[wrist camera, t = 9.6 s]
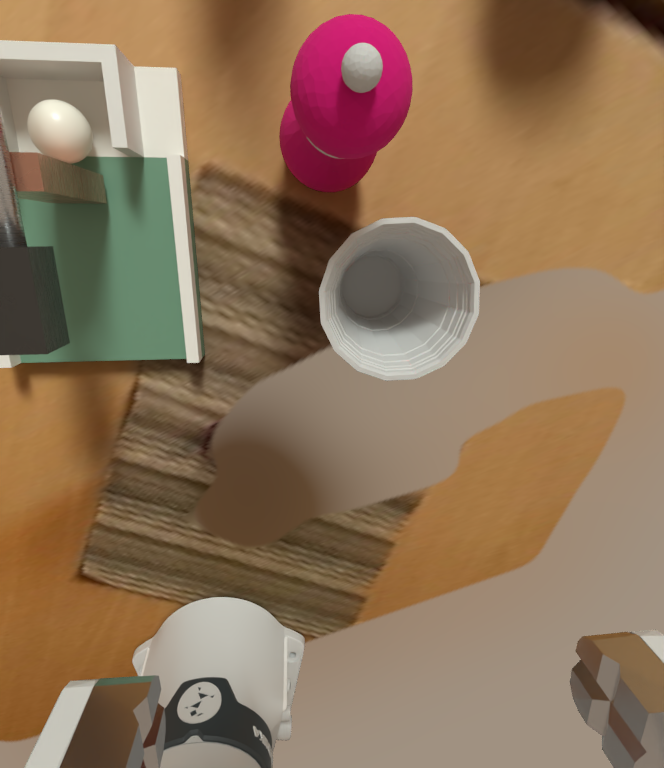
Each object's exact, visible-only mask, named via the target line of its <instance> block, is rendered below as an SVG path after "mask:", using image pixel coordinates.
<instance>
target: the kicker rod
mask: <svg viewBox="0 0 664 768" xmlns="http://www.w3.org/2000/svg"><path fill="white" fill-rule="evenodd" d="M18 198H20V199H27V200H34V201H40V202H47V203H92V204H107V201H106V194H105V187H104V180H103V175H101V174H98V173H95V172H92V171H89V170H86V169H83V168H81V167H78V166H75V165H72V164H69V163H66V162H63V161H60V160H58V159H55V158H52V157H49V156H46V155H43V154H40V153H37V152H9V149H8V144H7V138H6V133H5V128H4V123H3V118H2V112H1V107H0V355H37V354H49V353H51V352H53V351H55V350H57V349H59V348H61V347H63V346H65V345H67V344H69V343H70V340H69V335H68V329H67V323H66V318H65V312H64V306H63V301H62V295H61V289H60V284H59V278H58V272H57V267H56V261H55V255H54V250H53V246H27V242H26V237H25V232H24V227H23V221H22V216H21V211H20V206H19V201H18Z"/></svg>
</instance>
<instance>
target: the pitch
mask: <svg viewBox="0 0 664 768" xmlns="http://www.w3.org/2000/svg"><path fill="white" fill-rule="evenodd" d="M51 99H54V100H60V101H64V102H66V103H68V104H70V105H72V106H74V107H75V108H76V109H78V110H79V111H80V112H81V113H82V114H83V115H84V117H85V118H86V119H87V121H88V123H89V125H90V127H91V130H92V135H93V144H92V148H91V151H90V153H89V154H88V155H87V156H86V157H85V158H84V159H83V160H81V161H79V162H77V163H73V164H72V165H75V166H78V167H81V168H83V169H86V170H89V171H92V172H95V173H98V174H101V175H103V180H104V187H105V194H106V201H107V204H92V203H47V202H40V201H34V200H27V199H20V198H18V201H19V206H20V211H21V216H22V221H23V227H24V232H25V237H26V242H27V246H53V250H54V255H55V261H56V267H57V272H58V278H59V284H60V289H61V295H62V301H63V306H64V312H65V318H66V323H67V329H68V335H69V340H70V343H69V344H67V345H65V346H63V347H61V348H59V349H57V350H55V351H53V352H51V353H49V354H37V355H0V368H12V367H14V366H16V365H18V364H20V363H37V362H77V361H117V360H156V359H187V363H199V362H200V361H201V359H202V358H203V356H204V355H205V350H204V338H203V327H202V315H201V304H200V292H199V281H198V269H197V258H196V246H195V234H194V223H193V211H192V200H191V188H190V177H189V165H188V154H187V142H186V131H185V119H184V107H183V96H182V84H181V75H180V73H179V71H178V70H177V68H162V67H134V66H133V65H132V64H131V62H130V61H129V60H128V59H127V58H126V57H125V56H124V54H123V53H122V52H121V51H120V50H119V49H118V48H117V46H116V45H110V44H83V43H57V42H30V41H4V40H0V107H1V112H2V118H3V123H4V128H5V133H6V138H7V144H8V149H9V152H37V153H40V154H42V153H41V152H40V151H39V150H38V149H37V148H36V146H35V145H34V143H33V142H32V140H31V138H30V135H29V132H28V126H27V121H28V116H29V113H30V111H31V110H32V108H33V107H34V106H35V105H36V104H38V103H39V102H41V101H44V100H51Z"/></svg>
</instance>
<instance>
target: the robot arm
mask: <svg viewBox="0 0 664 768" xmlns="http://www.w3.org/2000/svg"><path fill="white" fill-rule="evenodd" d="M304 646H305V639H304V637H303V636H302V635H301V634H299V633H297V632H295V631H293V630H291V629H288V628H286V627H284V626H282V625H281V624H280V623H279V622H278V621H277V620H276V619H275V618H274V617H273V616H272V615H271V614H270V613H269V612H268V611H266V610H265V609H263V608H262V607H260V606H258V605H256V604H254V603H251V602H249V601H246V600H242V599H237V598H230V597H215V598H207V599H202V600H199V601H195V602H192V603H190V604H188V605H186V606H184V607H182V608H180V609H179V610H177V611H176V612H174V613H173V614H172V615H171V616H170V617H168V618H167V620H166V621H165V622H164V623H163V624H162V626H161V627H160V629H159V630H158V632H157V633H156V635H155V636H154V637H153V638H151V639H149V640H148V641H146V642H145V643H143V644H142V645H140V646H139V647H138V648H137V649H136V650H135V652H134V655H133V660H132V662H133V665H134V667H135V670H136V672H137V674H138V676H136V677H119V678H103V679H92V680H78V681H70V682H69V683H68V684H67V686H66V687H65V688H64V689H63V690H62V692H61V694H60V696H59V698H58V700H57V702H56V704H55V706H54V708H53V710H52V712H51V714H50V716H49V718H48V720H47V722H46V724H45V726H44V728H43V730H42V732H41V734H40V737H39V739H38V741H37V743H36V745H35V747H34V749H33V751H32V753H31V755H30V757H29V759H28V761H27V763H26V765H25V767H24V768H272V766H273V756H272V755H273V750H274V746H275V743H276V740H277V739H278V740H289V739H290V737H291V726H292V717H291V715H290V711H291V706H292V702H293V697H294V693H295V688H296V684H297V679H298V675H299V670H300V665H301V661H302V656H303V653H304ZM291 652H293V653H291ZM576 653H577V654H578V655H579V657H580V658H581V660H580V661H579V662H578V663H577V664H576V665H575V666H574V667H573V668H572V672H571V679H570V685H571V690H572V696H573V699H574V702H575V704H576V706H577V709H578V711H579V713H580V714H581V716H582V718H583V719H584V721H585V723H586V724H587V725H588V726H589V727H591V728H592V729H593V730H595V731H596V732H598V733H599V734H600V735H602V750H603V751H604V753H605V755H606V756H607V758H608V759H609V761H610V763H611V764H612V766H613V767H614V768H664V635H663V634H662V633H660V632H658V631H657V630H647V631H636V632H621V633H611V634H603V635H592V636H583V637H582V638H581V639H580V640H579V641H578V643H577V648H576Z"/></svg>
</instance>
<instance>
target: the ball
mask: <svg viewBox="0 0 664 768" xmlns="http://www.w3.org/2000/svg"><path fill="white" fill-rule="evenodd" d="M27 126H28V132H29V135H30V138H31V140H32V142H33V143H34V145H35V146H36V148H37V149H38V150H39V151H40V152H41V153H42V154H43V155H46V156H49V157H52V158H55V159H58V160H60V161H63V162H66V163H69V164H73V163H77V162H79V161H81V160H83V159H84V158H85V157H86V156H87V155H88V154H89V153H90V151H91V148H92V144H93V135H92V130H91V127H90V125H89V123H88V121H87V119H86V118H85V117H84V115H83V114H82V113H81V112H80V111H79V110H78V109H76V108H75V107H74V106H72V105H70V104H68V103H66V102H64V101H60V100H54V99H51V100H44V101H41V102H39V103H38V104H36V105H35V106H34V107H33V108H32V110H31V111H30V113H29V116H28V121H27Z"/></svg>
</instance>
